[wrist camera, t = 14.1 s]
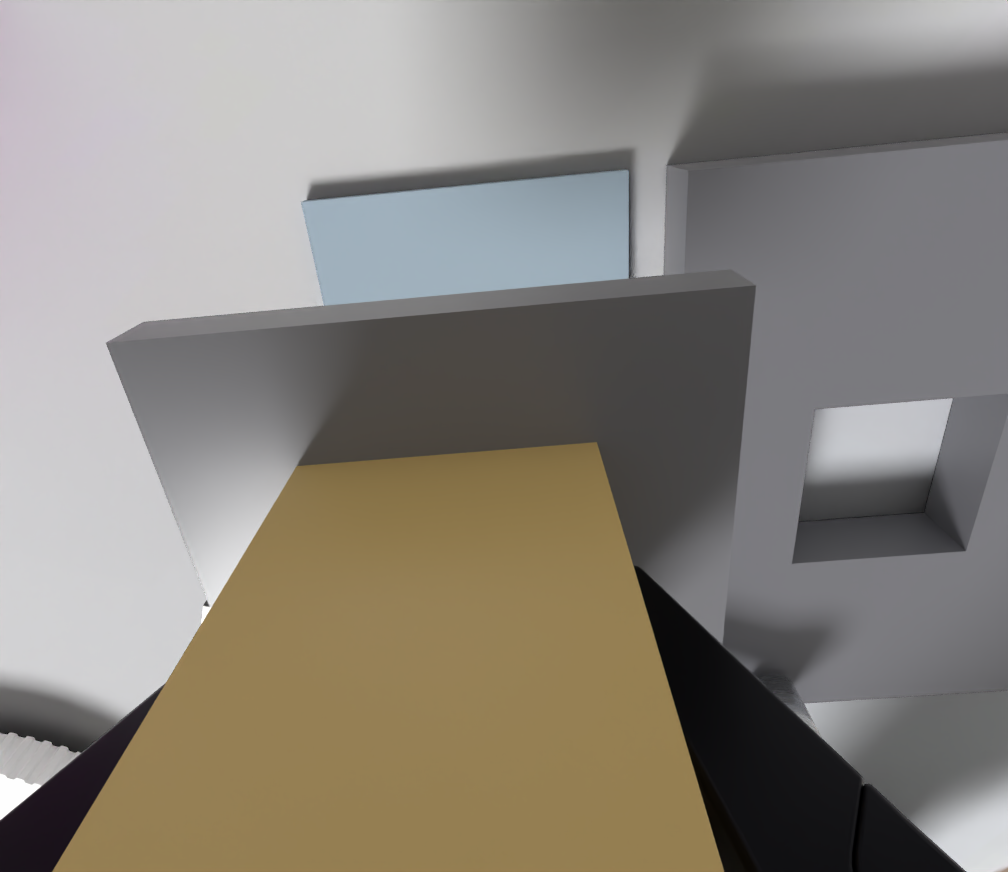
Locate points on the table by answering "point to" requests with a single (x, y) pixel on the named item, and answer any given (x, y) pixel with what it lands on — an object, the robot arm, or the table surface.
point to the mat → (471, 237)
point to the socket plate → (865, 381)
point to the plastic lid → (27, 767)
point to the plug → (434, 580)
